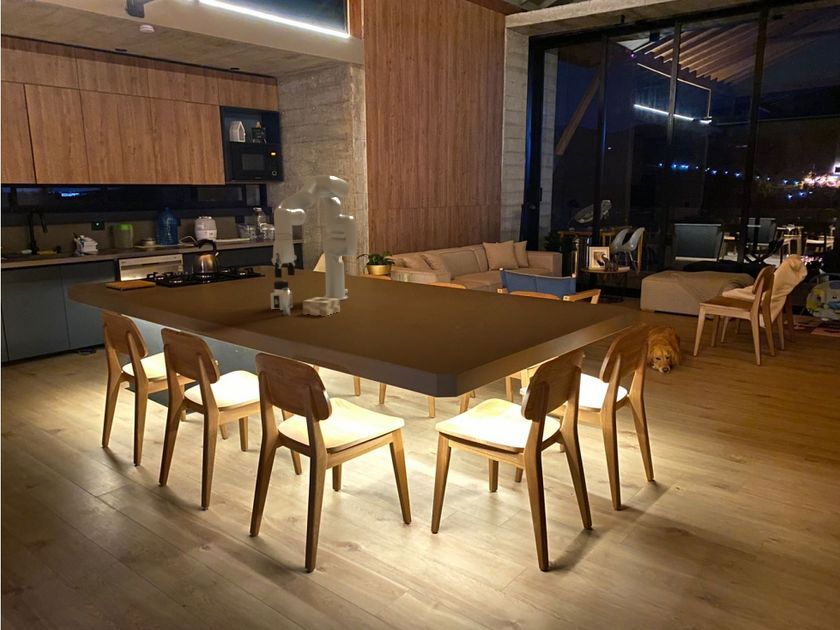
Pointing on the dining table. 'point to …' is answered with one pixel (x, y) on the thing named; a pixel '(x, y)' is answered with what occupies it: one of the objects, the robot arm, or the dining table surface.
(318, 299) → the square wooden hole block
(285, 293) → the peg
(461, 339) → the dining table surface
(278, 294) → the container
